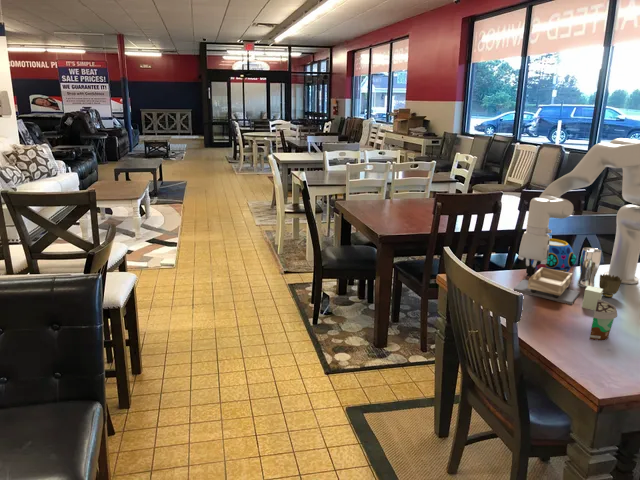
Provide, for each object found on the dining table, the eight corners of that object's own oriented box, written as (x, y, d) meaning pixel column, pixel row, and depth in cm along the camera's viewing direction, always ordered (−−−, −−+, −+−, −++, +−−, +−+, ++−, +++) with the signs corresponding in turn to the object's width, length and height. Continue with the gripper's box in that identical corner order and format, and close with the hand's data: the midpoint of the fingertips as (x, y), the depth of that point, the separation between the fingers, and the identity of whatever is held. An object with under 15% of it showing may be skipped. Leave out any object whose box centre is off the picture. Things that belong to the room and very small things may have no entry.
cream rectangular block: (584, 303, 188) (588, 285, 186) (599, 306, 185) (603, 288, 183) (581, 307, 184) (585, 289, 182) (597, 311, 181) (600, 292, 179)
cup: (621, 301, 190) (625, 281, 188) (599, 299, 191) (603, 279, 189) (614, 294, 197) (618, 274, 195) (593, 292, 198) (597, 273, 196)
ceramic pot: (540, 283, 206) (546, 248, 202) (517, 269, 223) (522, 236, 218) (580, 282, 209) (586, 247, 204) (554, 268, 225) (559, 235, 221)
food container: (611, 346, 155) (617, 316, 153) (588, 341, 158) (594, 311, 156) (613, 331, 165) (619, 303, 163) (592, 326, 169) (597, 298, 166)
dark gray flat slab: (523, 281, 208) (523, 279, 208) (579, 294, 196) (579, 291, 196) (513, 290, 198) (513, 288, 198) (571, 304, 186) (571, 302, 186)
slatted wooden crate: (539, 280, 206) (541, 266, 205) (570, 287, 199) (572, 273, 198) (526, 293, 193) (528, 278, 191) (559, 300, 186) (561, 286, 184)
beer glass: (594, 284, 207) (601, 249, 203) (595, 289, 201) (602, 253, 197) (576, 281, 210) (582, 246, 206) (576, 286, 204) (582, 251, 200)
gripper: (560, 232, 193) (552, 277, 198) (519, 225, 201) (513, 268, 206) (555, 236, 187) (547, 282, 192) (513, 228, 196) (507, 273, 201)
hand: (530, 275), depth 199 cm, fingers closed
